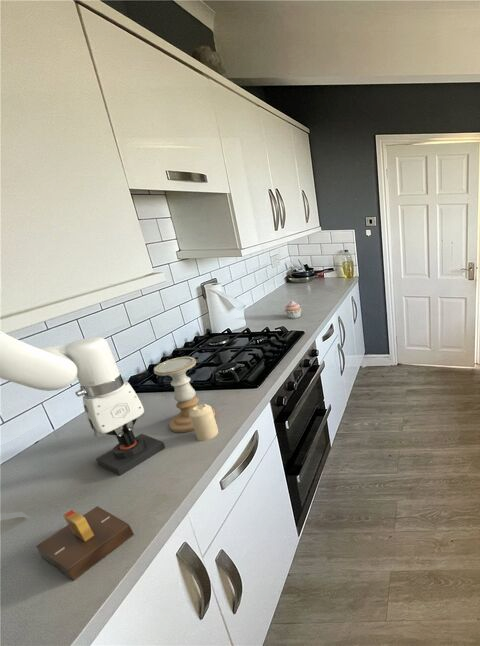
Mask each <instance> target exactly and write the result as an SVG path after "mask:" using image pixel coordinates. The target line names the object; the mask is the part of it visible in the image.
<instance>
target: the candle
mask: <svg viewBox="0 0 480 646" xmlns="http://www.w3.org/2000/svg"><path fill="white" fill-rule="evenodd" d="M212 408H213V407H212V406H211V405H209V404H206V403H201V404H198V406H197V407H195V408H193V409H192V410H191V412H190V413H189V415H190V418H191V421H192V424H193V427H194V430H193V431H194V433H195V436H196V437H195V438H196V439H197V440H198V441H200V442H205V441H209V440H211V439H213V438H215V437H216V436H217V435H218V434H219V429H218V424H217V422H216V416H215V417H214V414H213V411H212Z"/></svg>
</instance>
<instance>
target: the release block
mask: <svg viewBox="0 0 480 646" xmlns="http://www.w3.org/2000/svg"><path fill="white" fill-rule="evenodd" d="M134 440H136V441H137V444H136V445H135V446H133V447H132V448H129V449H126V450H120V446H121V445H120V443H119V442H118V443H117V444H116V445H115V446H114V447H113V448H112V449H111V450H109V451H107V452H105V453H104V454H102V455H100V456H98V457H97V458H95V461H96V462H97V464H98V466H100V467H102V468H104V469H106V470H108V471H110V472H112V473H114V474H116V475H118V476H119V477H120V476H122V475H124V474H126V473H127V472H129V471H131V470H132V469H134V468H135V467H137V466H139V465H140V464H142V463H144V462H146V461H147V460H148V459H150V458H152V457H154V456H155V455H156V454H158V453H160V452H162V451H163V450H165V449H166V446H165V444H164V442H163V440H159V439H157V438H154V437H152V436H149V435H147V434H144V433H140V434H138V435H136V436H135V439H134Z"/></svg>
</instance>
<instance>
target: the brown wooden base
mask: <svg viewBox="0 0 480 646" xmlns="http://www.w3.org/2000/svg"><path fill="white" fill-rule="evenodd" d="M82 516H83V517H85V519H86V521H87V523H88V525H89V526H90V528H91V530H92V532H93V534H94V536H93V537H91V538H90V539H88V540H87V541H86V542H85V541H83V540H82V539H80V538H79V537H77V536H76V535H74V534H73V533H72V531H71V529H70V527H69V526H68V524H67V525H66V526H64V527H63V528H62V529H60V530H58V531H57V532H55V533H54V534H52V535H51V536H49V537H48V538H46V539H45V540H42V541H41V542H39V543H38V544H37V545H35V547H36V550H38V552H39V554H40V555H41V557H42V558H43V559H45V560H46V561H47V562H48V563H50V564H51V565H53V566H54V567H55V568H57V570H59V571H61V572H62V573H63V574H64V575H65V576H67V577H69V578H70V579H71V580H72V581H75V580H77V579H78V578H79V577H80V576H82V575H83V574H85V572H87V571H89V569H91V568H92V567H94V566H95V565H96V564H97V563H99V562H100V561H101V560H103V559H104V558H106V557H107V556H108V555H109V554H111V553H112V552H113V551H114V550H116V549H117V548H118V547H119V546H121V545H122V544H124V543H125V542H127V540H129V539H130V538H131V537H133V536H134V535H135V534H134V531H133V529H132V527H131V525H130V524H129V523H128V522H126V521H124V520H123V519H121V518H118V517H117V516H116V515H114V514H112V513H110V512H108V511H107V510H105V509H103V508H102V507H99V506H95V507H94V508H92V509H91V510H89V511H88V512H86V513H84V514H83V515H82Z"/></svg>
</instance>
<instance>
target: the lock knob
mask: <svg viewBox="0 0 480 646" xmlns="http://www.w3.org/2000/svg"><path fill="white" fill-rule="evenodd" d="M63 518H64V520H65V522H66V524H67V525H68V526H69V527H70V529H71V531H72V533H73V534H74V535H76V536H77V537H79V538H80V539H82V540H83V541H85V542H86V541H87V540H88V539H90V538H91V537H93V536H94V534H93V532H92V530H91V528H90V526H89V525H88V523H87V521H86V519H85V517H83V515H81V514H80V513H79V512H77V511H75V510H73V509H71V510H69V511H68V512H66V513H64V514H63Z"/></svg>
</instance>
